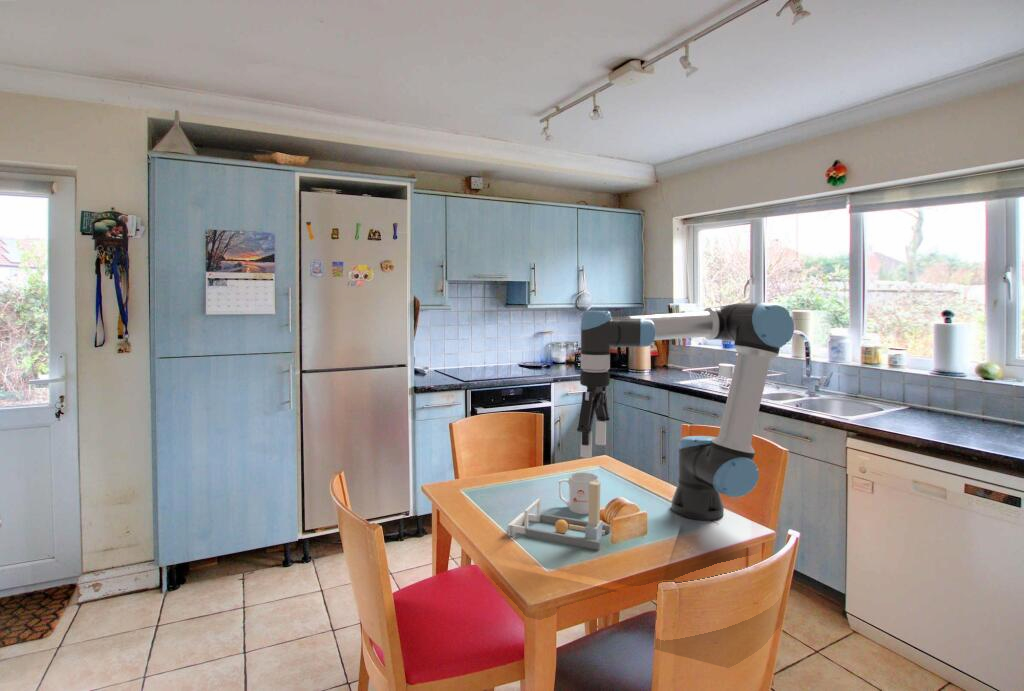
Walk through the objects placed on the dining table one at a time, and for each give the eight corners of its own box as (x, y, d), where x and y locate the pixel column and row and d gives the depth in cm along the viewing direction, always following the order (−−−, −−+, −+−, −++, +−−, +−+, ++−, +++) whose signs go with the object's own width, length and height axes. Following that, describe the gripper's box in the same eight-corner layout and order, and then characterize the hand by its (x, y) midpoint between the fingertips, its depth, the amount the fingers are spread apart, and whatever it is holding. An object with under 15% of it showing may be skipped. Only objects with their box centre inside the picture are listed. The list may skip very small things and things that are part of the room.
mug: (599, 509, 168) (600, 473, 167) (596, 520, 160) (596, 482, 159) (561, 505, 171) (561, 470, 171) (556, 515, 163) (556, 479, 162)
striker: (602, 535, 146) (603, 480, 145) (596, 544, 141) (597, 487, 140) (591, 533, 147) (592, 478, 146) (585, 541, 142) (586, 485, 141)
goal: (540, 525, 156) (540, 498, 155) (527, 539, 146) (527, 510, 146) (522, 522, 158) (522, 495, 157) (508, 535, 149) (508, 507, 148)
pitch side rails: (610, 536, 148) (610, 524, 148) (599, 554, 138) (599, 542, 137) (541, 524, 156) (541, 513, 156) (525, 540, 146) (525, 529, 145)
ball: (569, 531, 149) (570, 518, 148) (565, 536, 145) (565, 523, 145) (557, 529, 150) (557, 516, 150) (552, 534, 147) (553, 521, 147)
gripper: (594, 364, 154) (593, 438, 156) (565, 375, 131) (564, 461, 133) (620, 366, 151) (619, 441, 153) (595, 376, 128) (594, 465, 130)
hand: (593, 450), depth 143 cm, fingers open, 13 cm apart
